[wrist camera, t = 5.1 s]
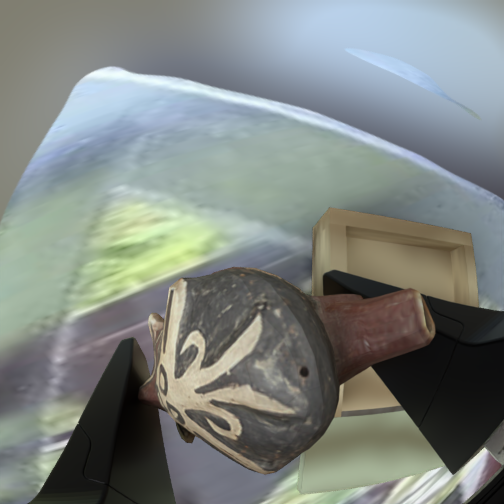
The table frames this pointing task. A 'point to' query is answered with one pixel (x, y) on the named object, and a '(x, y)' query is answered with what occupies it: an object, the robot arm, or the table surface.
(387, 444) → the shallow wooden tray
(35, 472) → the table surface
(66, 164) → the table surface
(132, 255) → the table surface
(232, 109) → the table surface
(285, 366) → the figurine
